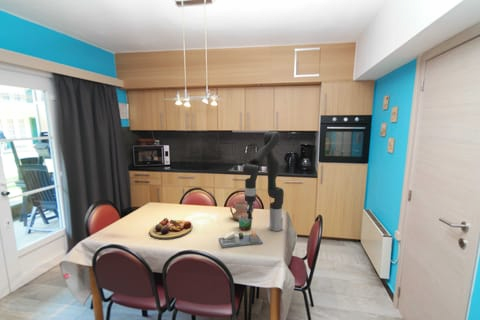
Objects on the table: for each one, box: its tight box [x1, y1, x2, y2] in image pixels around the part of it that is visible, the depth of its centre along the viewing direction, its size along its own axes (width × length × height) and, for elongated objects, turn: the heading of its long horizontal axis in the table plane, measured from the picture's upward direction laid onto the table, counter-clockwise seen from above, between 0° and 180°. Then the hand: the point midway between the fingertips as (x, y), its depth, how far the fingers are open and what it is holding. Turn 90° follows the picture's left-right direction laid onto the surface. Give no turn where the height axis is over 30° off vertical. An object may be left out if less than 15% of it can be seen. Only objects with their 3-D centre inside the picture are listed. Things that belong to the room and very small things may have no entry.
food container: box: [238, 215, 254, 231], centre depth 181 cm, size 12×6×10 cm, turn 66°
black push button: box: [237, 232, 244, 239], centre depth 165 cm, size 4×4×2 cm
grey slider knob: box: [235, 233, 239, 243], centre depth 158 cm, size 2×4×5 cm, turn 13°
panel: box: [218, 233, 263, 249], centre depth 162 cm, size 28×13×4 cm, turn 103°
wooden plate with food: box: [149, 217, 194, 240], centre depth 180 cm, size 32×32×8 cm
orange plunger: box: [250, 230, 258, 237], centre depth 161 cm, size 4×4×5 cm
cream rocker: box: [223, 230, 236, 240], centre depth 163 cm, size 8×4×2 cm, turn 102°
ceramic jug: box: [229, 200, 248, 221], centre depth 201 cm, size 18×14×14 cm
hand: (250, 218), depth 159 cm, fingers closed
